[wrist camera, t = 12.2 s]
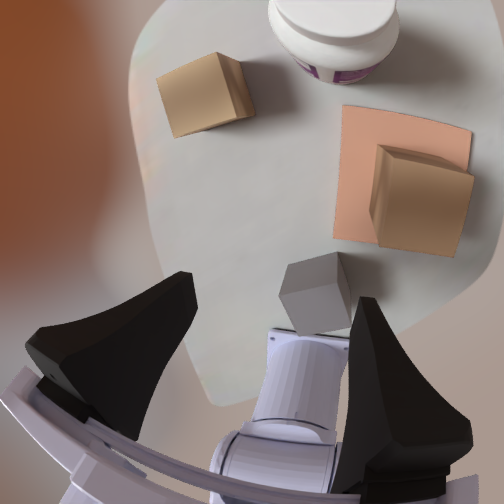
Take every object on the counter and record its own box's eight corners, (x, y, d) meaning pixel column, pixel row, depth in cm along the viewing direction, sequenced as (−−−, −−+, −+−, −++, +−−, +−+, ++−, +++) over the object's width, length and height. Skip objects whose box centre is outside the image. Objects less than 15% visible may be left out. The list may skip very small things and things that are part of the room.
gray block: (350, 292, 21) (351, 327, 18) (305, 303, 23) (298, 336, 20) (337, 250, 20) (336, 282, 16) (288, 264, 22) (278, 296, 18)
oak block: (255, 114, 17) (236, 117, 13) (203, 131, 18) (174, 138, 15) (239, 61, 15) (216, 51, 12) (187, 81, 16) (155, 79, 13)
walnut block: (428, 220, 16) (453, 257, 12) (368, 211, 17) (379, 246, 13) (440, 156, 14) (474, 176, 10) (376, 144, 15) (394, 157, 11)
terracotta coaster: (444, 249, 17) (447, 253, 16) (333, 234, 19) (333, 238, 19) (467, 130, 13) (471, 131, 12) (342, 105, 15) (342, 105, 14)
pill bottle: (377, 20, 11) (414, -49, 3) (373, 92, 14) (420, 76, 6) (292, 8, 12) (252, -68, 4) (288, 79, 15) (242, 49, 7)
